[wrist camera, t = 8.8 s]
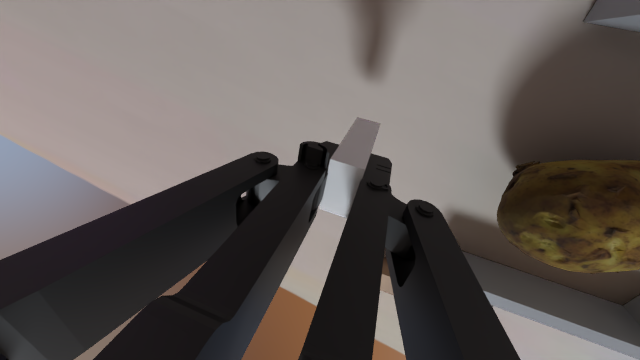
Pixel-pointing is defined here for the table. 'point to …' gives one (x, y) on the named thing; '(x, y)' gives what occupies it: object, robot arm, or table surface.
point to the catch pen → (557, 300)
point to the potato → (575, 214)
